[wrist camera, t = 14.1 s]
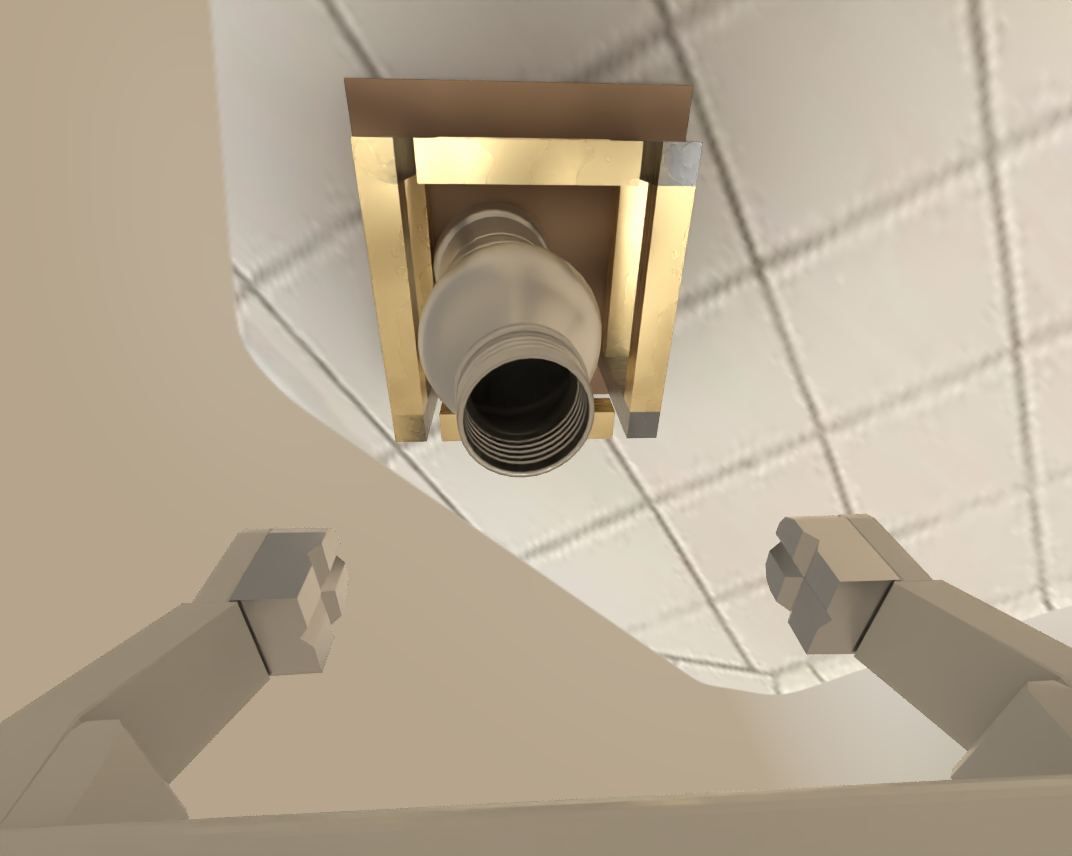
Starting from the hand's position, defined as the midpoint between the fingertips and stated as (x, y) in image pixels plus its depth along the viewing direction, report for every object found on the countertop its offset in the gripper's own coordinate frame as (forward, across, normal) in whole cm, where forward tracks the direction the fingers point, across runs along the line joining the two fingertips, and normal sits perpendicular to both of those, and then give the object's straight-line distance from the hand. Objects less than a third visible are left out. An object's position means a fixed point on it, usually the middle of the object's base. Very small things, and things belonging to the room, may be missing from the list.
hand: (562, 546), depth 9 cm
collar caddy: (+24, 0, 0) cm, 25 cm away
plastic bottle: (+24, +2, 0) cm, 25 cm away
